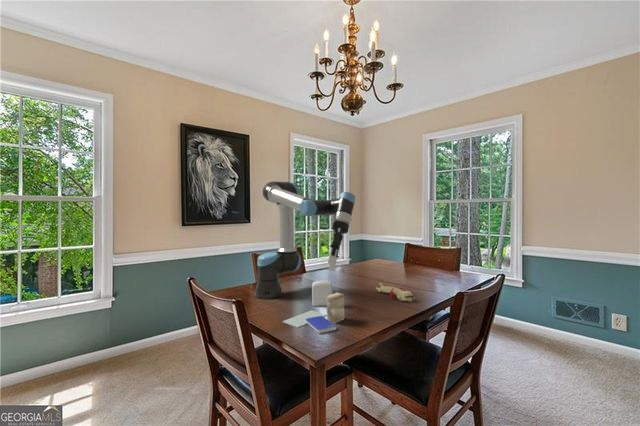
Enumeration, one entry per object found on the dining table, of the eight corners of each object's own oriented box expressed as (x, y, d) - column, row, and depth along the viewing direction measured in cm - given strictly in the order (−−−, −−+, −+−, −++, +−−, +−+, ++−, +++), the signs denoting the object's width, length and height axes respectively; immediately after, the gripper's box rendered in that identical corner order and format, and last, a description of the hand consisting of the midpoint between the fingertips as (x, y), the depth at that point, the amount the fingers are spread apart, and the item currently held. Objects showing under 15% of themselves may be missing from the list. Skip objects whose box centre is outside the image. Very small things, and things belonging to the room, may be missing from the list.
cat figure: (372, 294, 173) (404, 303, 151) (371, 279, 173) (403, 285, 152) (385, 292, 178) (418, 299, 156) (384, 277, 178) (417, 283, 157)
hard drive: (336, 325, 122) (322, 315, 133) (318, 329, 118) (305, 318, 129) (336, 329, 122) (322, 318, 133) (318, 333, 118) (305, 322, 129)
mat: (282, 322, 130) (282, 321, 130) (311, 311, 144) (311, 310, 144) (297, 327, 124) (297, 327, 124) (326, 315, 137) (326, 314, 137)
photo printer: (312, 306, 150) (311, 282, 150) (312, 303, 155) (312, 279, 154) (332, 306, 150) (332, 281, 150) (332, 303, 154) (332, 279, 154)
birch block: (327, 321, 131) (326, 296, 131) (337, 316, 136) (337, 292, 136) (334, 323, 128) (334, 298, 128) (344, 318, 133) (344, 294, 133)
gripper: (350, 214, 129) (339, 262, 121) (348, 233, 152) (339, 274, 144) (333, 211, 130) (321, 258, 122) (333, 230, 153) (323, 270, 145)
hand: (331, 267), depth 133 cm, fingers open, 13 cm apart
